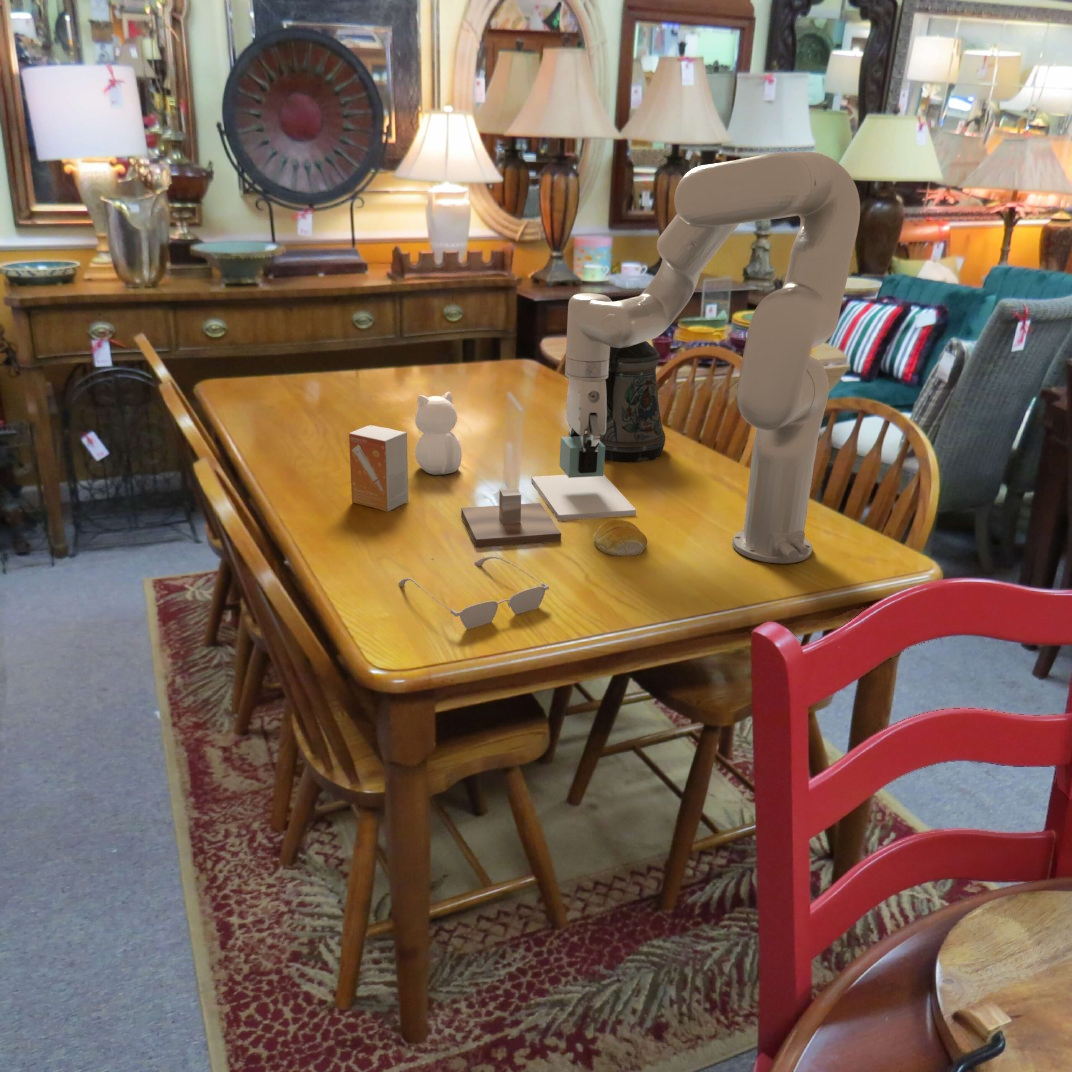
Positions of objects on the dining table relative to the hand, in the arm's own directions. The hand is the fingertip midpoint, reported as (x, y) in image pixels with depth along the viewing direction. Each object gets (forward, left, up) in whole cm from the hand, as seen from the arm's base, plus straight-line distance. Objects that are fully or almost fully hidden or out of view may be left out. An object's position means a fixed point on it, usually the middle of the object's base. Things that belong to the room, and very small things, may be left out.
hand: (581, 464), depth 177 cm
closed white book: (0, 0, -6) cm, 6 cm away
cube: (0, 0, -1) cm, 1 cm away
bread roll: (-22, 0, -7) cm, 23 cm away
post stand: (-12, +16, -6) cm, 21 cm away
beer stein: (+24, -16, -7) cm, 29 cm away
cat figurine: (+19, +23, -7) cm, 30 cm away
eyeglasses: (-35, +27, -7) cm, 45 cm away
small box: (+4, +36, -7) cm, 37 cm away
